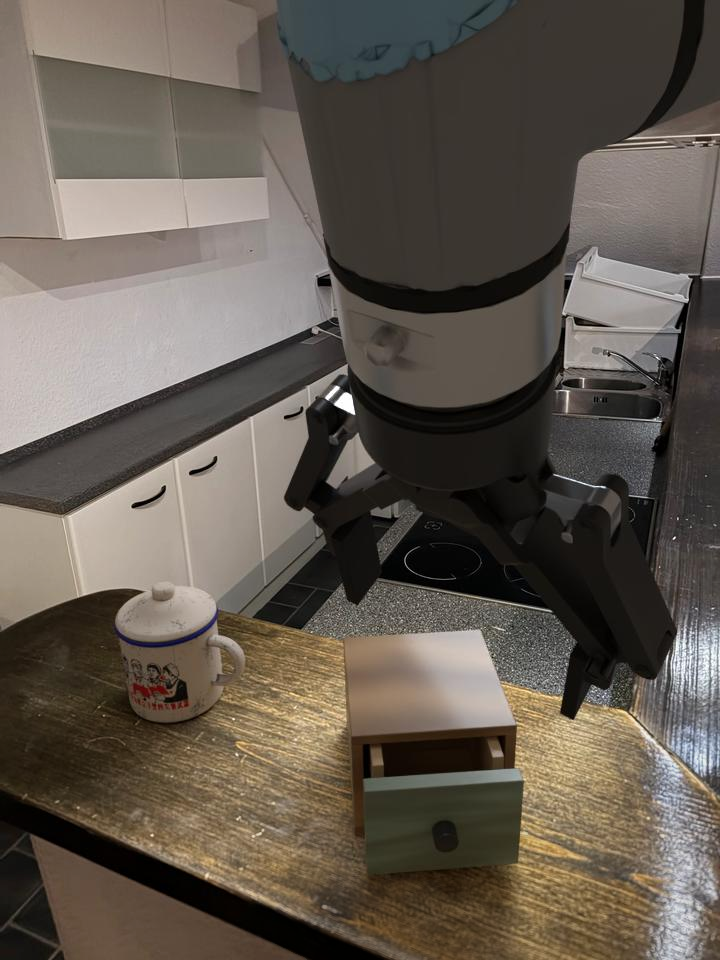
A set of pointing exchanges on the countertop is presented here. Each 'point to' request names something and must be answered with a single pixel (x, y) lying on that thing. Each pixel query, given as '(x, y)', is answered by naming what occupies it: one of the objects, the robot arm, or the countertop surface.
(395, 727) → the cabinet
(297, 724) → the countertop surface
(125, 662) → the teacup with lid
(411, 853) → the drawer
